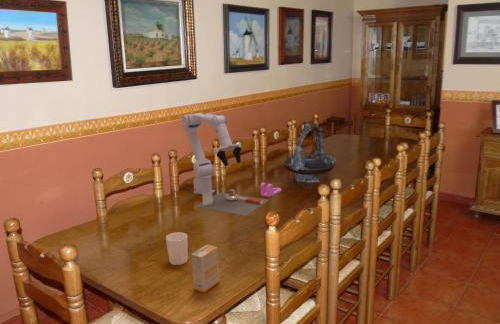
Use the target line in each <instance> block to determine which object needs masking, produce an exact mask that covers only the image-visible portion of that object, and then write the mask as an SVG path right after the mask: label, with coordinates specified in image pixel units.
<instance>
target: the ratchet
mask: <svg viewBox="0 0 500 324" xmlns="http://www.w3.org/2000/svg"><path fill="white" fill-rule="evenodd" d="M239 195H240V194H239V193H236V189H232V188H231V189H229V190H228V194H227V195H226V201H230V202H233V201H239V202H245V203H250V204H256V205H261V204H263V199H264V198H260V199H256V198H257V197H254V198H250V197H251V196H248V197H249V198H245V197H239ZM263 205H264V204H263ZM261 206H262V205H261Z"/></svg>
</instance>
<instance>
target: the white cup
mask: <svg viewBox="0 0 500 324" xmlns="http://www.w3.org/2000/svg"><path fill="white" fill-rule="evenodd" d="M165 241H166V248H167V249H166V250H167V255H168V259H169V261H168V262H169V263H170V264H171V265H173V266H180V265H184V264H186V263H187V262H188V259H189V258H188V254H189V253H188V251H189V250H188V249H189V247H188V245H189V243H188V234H187V233H185V232H180V231H179V232H178V231H176V232H172V233H168V234H167V235H166V236H165Z"/></svg>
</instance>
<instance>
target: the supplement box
mask: <svg viewBox="0 0 500 324" xmlns="http://www.w3.org/2000/svg"><path fill="white" fill-rule="evenodd" d="M218 253H219V252H218V246H217V247H216V246H213V245H210V244H206V245H204V246H202V247H201V248H199V249H197V250H195V251H194V252H192V253H190V255H191V265H192V278H193V289H194V290H196V291H198V292H201V293H206V292H207V291H209V290H211V289H212V288H213V287H214V286H216V285H218V284H219V283H220V269H219V268H220V267H219V254H218Z"/></svg>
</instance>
